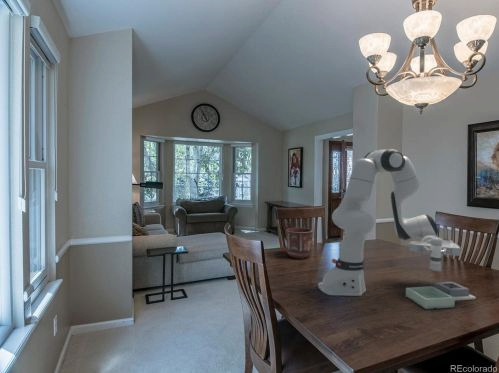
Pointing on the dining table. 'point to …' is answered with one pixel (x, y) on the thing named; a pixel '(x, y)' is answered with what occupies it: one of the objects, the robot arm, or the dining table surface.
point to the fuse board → (454, 290)
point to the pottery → (299, 242)
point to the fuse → (435, 254)
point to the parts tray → (430, 297)
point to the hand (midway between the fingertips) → (436, 252)
